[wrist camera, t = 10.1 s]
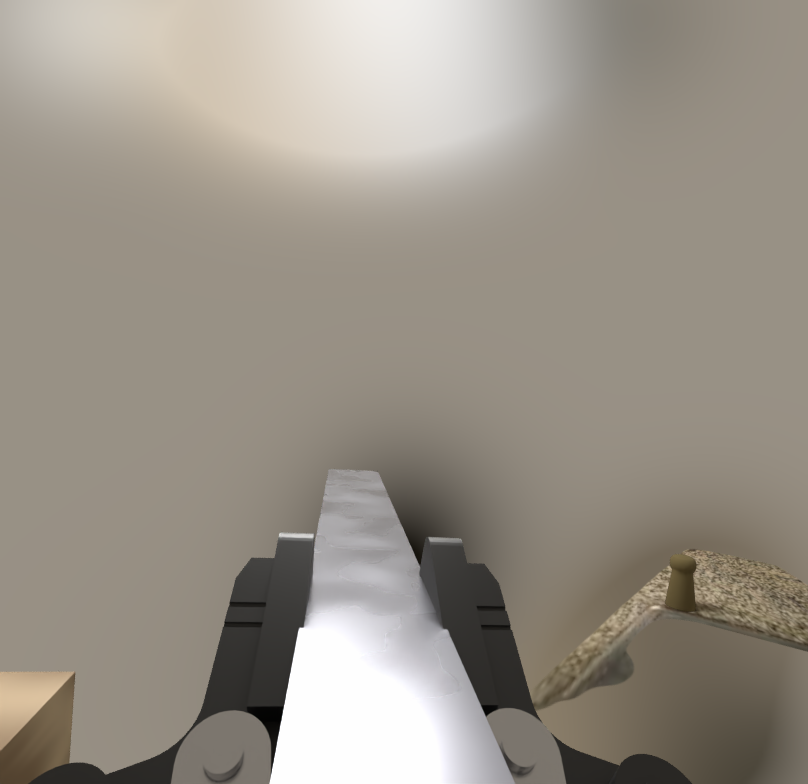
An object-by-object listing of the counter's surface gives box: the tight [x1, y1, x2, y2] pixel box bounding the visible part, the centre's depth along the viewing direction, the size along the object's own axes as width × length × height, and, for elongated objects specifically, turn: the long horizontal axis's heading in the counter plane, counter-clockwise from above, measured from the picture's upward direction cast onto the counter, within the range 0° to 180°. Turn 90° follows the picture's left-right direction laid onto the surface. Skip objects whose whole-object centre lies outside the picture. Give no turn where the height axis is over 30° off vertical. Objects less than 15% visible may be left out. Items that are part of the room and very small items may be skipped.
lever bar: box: [270, 469, 515, 784], centre depth 16 cm, size 22×2×2 cm, turn 7°
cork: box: [665, 554, 696, 612], centre depth 114 cm, size 6×6×11 cm
